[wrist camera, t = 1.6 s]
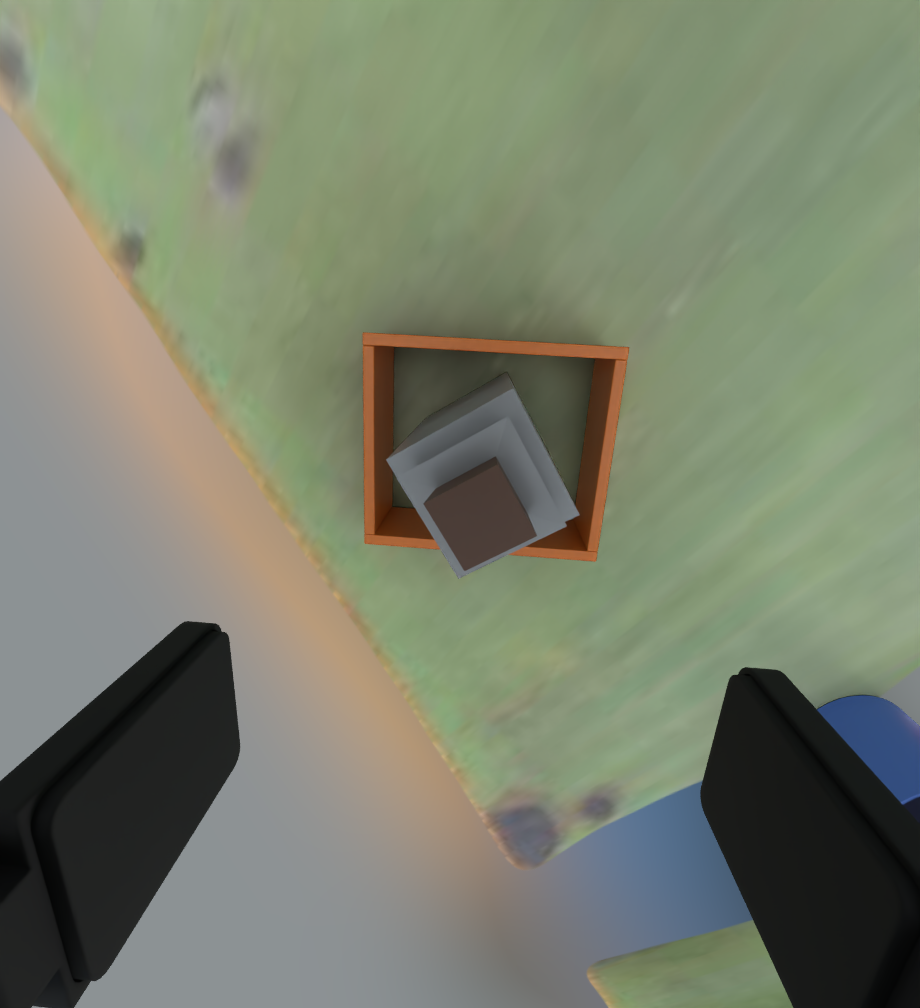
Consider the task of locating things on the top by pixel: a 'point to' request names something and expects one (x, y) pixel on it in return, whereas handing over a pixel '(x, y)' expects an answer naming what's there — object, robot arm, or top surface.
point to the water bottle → (881, 742)
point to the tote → (608, 367)
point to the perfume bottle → (482, 477)
